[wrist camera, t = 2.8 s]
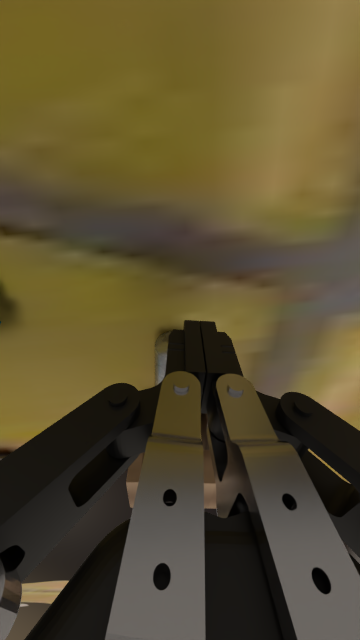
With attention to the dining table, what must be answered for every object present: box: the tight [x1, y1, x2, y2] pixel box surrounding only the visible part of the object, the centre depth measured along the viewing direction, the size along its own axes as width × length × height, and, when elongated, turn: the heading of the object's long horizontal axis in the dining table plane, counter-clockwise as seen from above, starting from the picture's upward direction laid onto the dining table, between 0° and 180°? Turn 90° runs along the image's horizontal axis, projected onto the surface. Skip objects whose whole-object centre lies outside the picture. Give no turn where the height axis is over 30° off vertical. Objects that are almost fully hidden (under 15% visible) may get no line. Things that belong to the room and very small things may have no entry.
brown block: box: [126, 413, 216, 508], centre depth 22 cm, size 5×8×8 cm, turn 87°
